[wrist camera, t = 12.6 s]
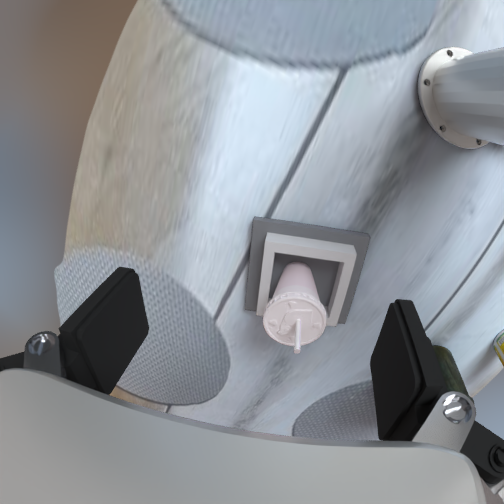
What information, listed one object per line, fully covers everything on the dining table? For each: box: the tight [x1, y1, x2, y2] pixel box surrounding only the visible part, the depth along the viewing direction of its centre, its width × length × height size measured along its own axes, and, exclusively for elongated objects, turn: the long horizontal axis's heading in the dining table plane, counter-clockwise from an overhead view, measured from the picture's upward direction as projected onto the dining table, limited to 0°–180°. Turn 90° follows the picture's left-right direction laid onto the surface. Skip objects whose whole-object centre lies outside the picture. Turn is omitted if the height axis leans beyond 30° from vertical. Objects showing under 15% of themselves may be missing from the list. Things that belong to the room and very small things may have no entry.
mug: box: [433, 345, 474, 403], centre depth 38 cm, size 11×15×12 cm
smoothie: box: [263, 262, 326, 353], centre depth 32 cm, size 6×6×14 cm
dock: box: [245, 217, 370, 327], centre depth 37 cm, size 14×13×4 cm
